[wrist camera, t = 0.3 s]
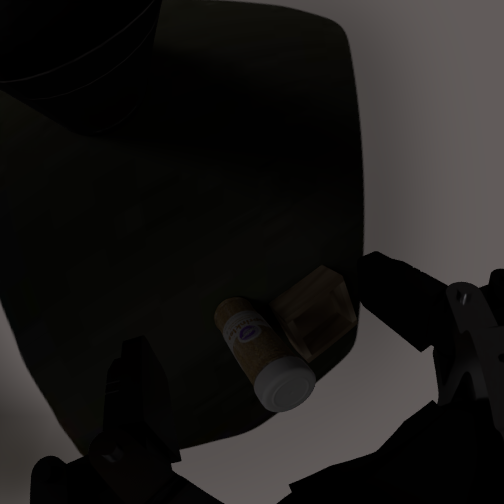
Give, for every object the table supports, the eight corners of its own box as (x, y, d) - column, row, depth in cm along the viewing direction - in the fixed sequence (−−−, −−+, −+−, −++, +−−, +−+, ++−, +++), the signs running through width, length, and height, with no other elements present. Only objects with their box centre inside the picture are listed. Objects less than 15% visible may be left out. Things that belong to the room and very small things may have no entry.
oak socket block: (268, 303, 33) (284, 319, 29) (321, 264, 34) (342, 275, 30) (292, 346, 36) (308, 362, 32) (339, 310, 37) (357, 323, 34)
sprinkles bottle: (234, 287, 30) (299, 359, 18) (259, 311, 32) (327, 383, 20) (204, 316, 30) (251, 403, 18) (230, 339, 32) (285, 420, 20)
